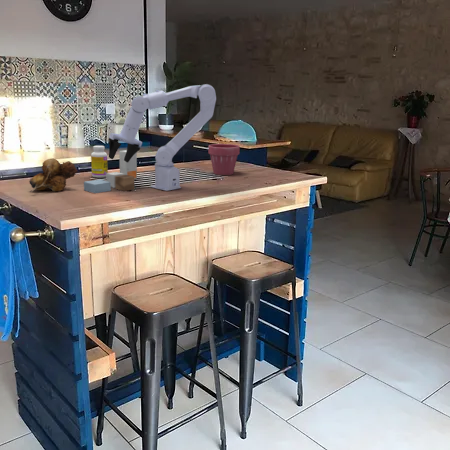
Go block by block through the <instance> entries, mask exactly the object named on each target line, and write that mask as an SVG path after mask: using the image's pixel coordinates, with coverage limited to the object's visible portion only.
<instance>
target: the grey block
mask: <svg viewBox="0 0 450 450" xmlns="http://www.w3.org/2000/svg"><path fill="white" fill-rule="evenodd" d="M121 175H125V174H123V173H120V171H115V172H114V171H113V172H108V173H106V177H105V178H106V179H105V181H108V182H111V188H114V189H116V183H115V176H121Z"/></svg>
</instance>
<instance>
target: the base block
mask: <svg viewBox="0 0 450 450" xmlns="http://www.w3.org/2000/svg"><path fill="white" fill-rule="evenodd" d="M83 190H84V191H85V192H88V193H92V194H99V193H105V192H111V190H112V187H111V182H108V181H106V180H102V179H93V180H87V181H83Z"/></svg>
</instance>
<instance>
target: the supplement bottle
mask: <svg viewBox="0 0 450 450" xmlns="http://www.w3.org/2000/svg"><path fill="white" fill-rule="evenodd" d="M105 147H106V146H104V145H94V146H92V150H93V152H91V154H90V161H91V176H92V177H93V178H102V179H103V178H106V173H109V172H108V171H109V170H108V168H109V167H108V154H107V152H105Z"/></svg>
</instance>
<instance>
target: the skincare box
mask: <svg viewBox="0 0 450 450" xmlns="http://www.w3.org/2000/svg"><path fill="white" fill-rule="evenodd" d="M118 152H119V173H123V174H125V175H129V176H134V180H137V179H138V178H137V177H138V175H137V173H138V172H137V171H138V167H137V166H138V165H137V163H138V162H137V161H138V159H137V158H138V156H137V154H138V152H136V153H135V154H134V155H133V157H132V158H131V159H130V161H129V162H126V161H124V157H125V155H126V152H127V149H126V150H125V149H124V150H119V151H118Z"/></svg>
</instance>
